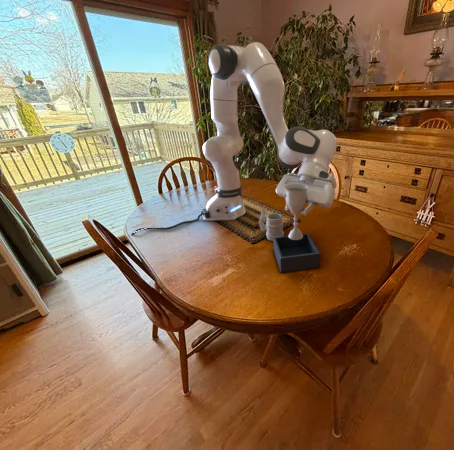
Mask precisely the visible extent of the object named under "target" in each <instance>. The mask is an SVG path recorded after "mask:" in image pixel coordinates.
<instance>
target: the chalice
mask: <svg viewBox="0 0 454 450" xmlns="http://www.w3.org/2000/svg"><path fill="white" fill-rule="evenodd" d="M285 189H286V193H287V204H288V207H289V209H290V213H291V214H292V215H293V216H294V217H293V221H294V222H293V224H292V225H293V228H292V229H291V230H290V232H289V234H288V235H287V236H288V237H289V238H290V239H292V240H300V239H302V238H303V235H302V234H303V233H302V230H300V229H299V228H298V226H299V222H298V221H299V216H298V215H300V214H301V211H302V209H305V205H306V204H307V203H306V191H307V189H308V186H306V185H303V184H289V185H286V186H285Z"/></svg>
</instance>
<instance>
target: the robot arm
mask: <svg viewBox="0 0 454 450" xmlns="http://www.w3.org/2000/svg"><path fill="white" fill-rule="evenodd" d="M207 60H208V61H207V62H208V67H209V71H210V73H211V75H212V76H211V83H210V113H211V114H210V116H211V117H210V118H211V120H212V121H213V123H214V124H215V128H216V131H217V134H216V135H214V136H211V137H209V139H207V140H206V141H205V142H204V143H203V145H202V153H203V155H204V157H205V159H206V160H207V161H209V162H210V163H211V165H212V167H213V170H214V172H215V176H216V182H217V185H215V186H214V187H213V190H214V196H212V197H211V198H210V199H209V200H208V201H207V203H206V205H205V206H206V207H205V208H202V209H201V213H199V214H198V216H197V218H195V219H193V220H184V221H181V222H179V223H177V224H174V225H171V226H167V227H161V228H147V227H146V228H147V229H144V228H145V227H141V228H137V229H135V230H134V231H138V230H140V231H142V230H141V229H144V230H143V231H146V230H147V231H148V230H160V231H161V230H162V231H167V230H171V229H174V228H177V227H180V226H181V225H183V224H189V223H193V222H197V221H199V220H200V217H202V219H203V220H204V221H210V222H211V221H235V220H236V219H238V218H239V217H242V216H244V215H245V214H246V213H247V209H246V207H245V204H244V199H243V188H242V185H241V177H240V176H241V175H240V170H239V169H238V168H237V167H236V165H235V163H234V157H235V156H238V154H240V152H241V151H242V150H243V148H244V139H243V137H242V136H241V133H240V128H239V122H238V121H239V120H238V96H239V95H238V90H239V86H240V85H241V84H243V85H245V86H247V85H248V84H249V86H250V88H251V91H252V93H253V94H254V96H255V99H256V101H257V103H258V105H259V107H260V109H261V112H262V114H263V116H264V118H265V121H266V124H267V126H268V129H269V131H270V133H271V136H272V138H273V141H274V143H275V146H276V157H277V161H278V163H279V164H280V166H282V167H283V168H285V169H289V170H294V169H297V168H299V167H300V168H299V170H298V173H297V172H296V173H295V172H294V173H293V172H287V173H285V174H283V176H282V177H281V179H280V181H279V182H278V184H277V186H276V189H275V193H276V195H277V196H278V197H280V198H283V199H285V206H284V210H285V212H290V213H291V211H290V209H289V207H288V204H287V193H286V189H285V186H286V185H289V184H303V185H306V186H308V189H307V191H306V203H305V204H307V206H306V207H304V208H303V209H302V211H301V213H300V214H301V216H305V217H307V216H308V214H309V212H310V211H311V210H313V209H314V208H315V206H317V207H321V208H325V209H329V208H330V207H331V206H332V205H333V202H334V200H335V197H336V196H335V195H336V190H335V189H336V188H337V186H338V185H337V184H338V183H337V182H336V178H335V177H334V176H333V174H332V173H330V172H328V168H329V166H330V165H331V163H332V161H333V160H334V156H335V153H336V150H337V147H338V146H337V145H338V140H337V137H336V136H335V134H334V133H333V132H332V131H330V130H328V129H318V130H312V129H307V128H306V127H303V126H300V125H299V126H298V125H297V126H293V127H291V128H288V126H287V123H286V121H285V117H284V98H285V91H286V86H285V82H284V78H283V74H282V73H281V70H280V68H279V67H278V65H277V62H276V61H275V59H274V57H273V56H272V53H270V52H269V50H268V49H267V47H265V45H264V44H263V43H261V42H258V41H254V42H250V43H249V44H247V45H246V46H245V47H244V46H240V45H227V44H225V43H219V44H214V45H212V47H211V49H210V50H209V53H208V57H207ZM138 232H139V231H138ZM135 234H137V232H135V233H133V232H132V233H131V234H130V236H134V235H135Z"/></svg>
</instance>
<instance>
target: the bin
mask: <svg viewBox="0 0 454 450" xmlns="http://www.w3.org/2000/svg"><path fill="white" fill-rule="evenodd" d="M302 235H303V238H302V239H300V240H292V239H290V238H289V237H288V236H289V235H284V236H282V237H273V241H272V242H273V253H274V255H275V259H276V262H277V266H278V269H279V271H280V273H289V272H296V271H303V270H310V269H319V268H320V259H321V252H320V250H319V249H318V247H317V246H316V244H315V242H314V241H313V239H312V238H311V236H310V233H302Z"/></svg>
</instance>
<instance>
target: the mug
mask: <svg viewBox="0 0 454 450" xmlns="http://www.w3.org/2000/svg"><path fill="white" fill-rule="evenodd" d="M260 210H261V212H260V216H259V220H258V224H259V228H260V230H261V231H262V232H264V231H265V230H266V232H265V236H266V239H267V240H268V241H271V242H274V241H273V237H282V236H285V232H284V221H283V215H282V214H280V213H276V212H272V213H269V214H267V213H266V209H264V208H263V207H262V208H261V209H260ZM265 218H266V222H264V219H265Z"/></svg>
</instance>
